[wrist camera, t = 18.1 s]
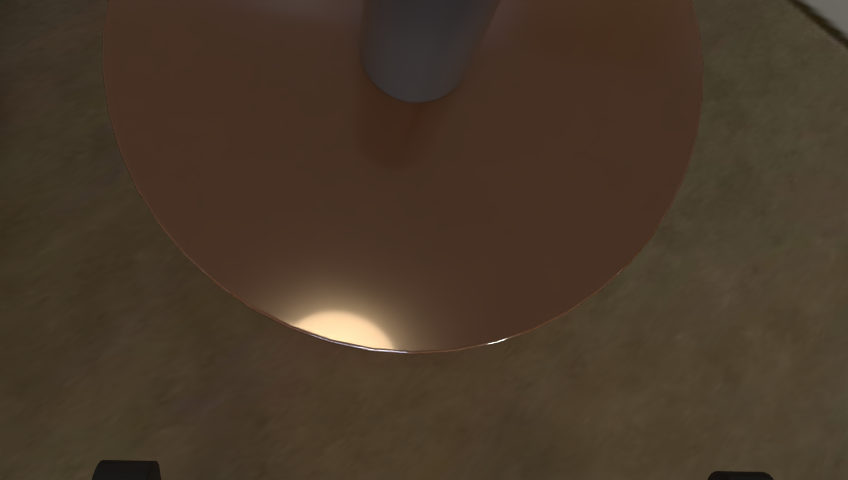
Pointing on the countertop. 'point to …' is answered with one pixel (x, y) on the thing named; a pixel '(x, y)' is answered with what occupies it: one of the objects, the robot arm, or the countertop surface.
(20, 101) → the countertop surface
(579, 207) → the lid
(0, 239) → the countertop surface
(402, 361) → the countertop surface
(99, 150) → the countertop surface
